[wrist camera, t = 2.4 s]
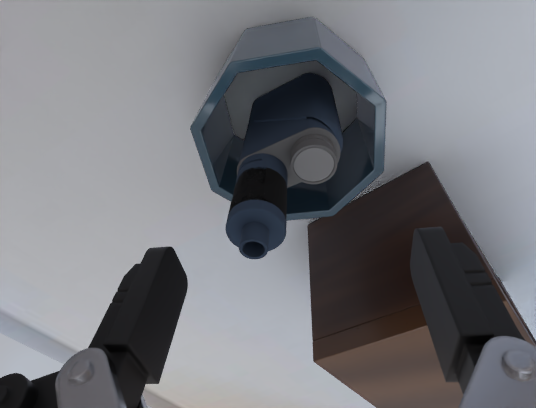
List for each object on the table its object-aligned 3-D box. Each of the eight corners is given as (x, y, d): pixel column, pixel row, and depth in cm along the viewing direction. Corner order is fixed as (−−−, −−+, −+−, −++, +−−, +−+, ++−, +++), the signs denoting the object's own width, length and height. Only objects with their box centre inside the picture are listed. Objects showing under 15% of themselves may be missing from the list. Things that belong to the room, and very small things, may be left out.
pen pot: (200, 36, 19) (170, 72, 15) (364, 6, 18) (389, 35, 13) (236, 170, 25) (223, 226, 20) (364, 155, 23) (382, 212, 19)
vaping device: (243, 102, 22) (204, 237, 12) (321, 62, 20) (345, 184, 10) (263, 135, 23) (242, 279, 14) (338, 101, 21) (372, 239, 12)
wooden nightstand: (307, 225, 28) (312, 361, 19) (428, 161, 23) (507, 300, 15) (397, 319, 35) (431, 448, 26) (502, 283, 31) (584, 424, 22)
